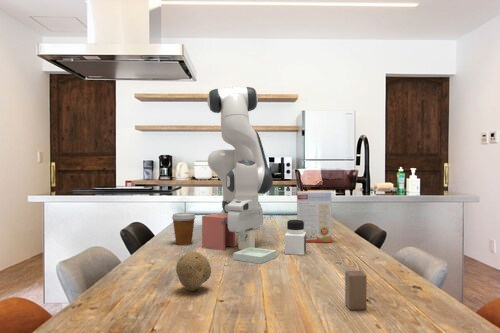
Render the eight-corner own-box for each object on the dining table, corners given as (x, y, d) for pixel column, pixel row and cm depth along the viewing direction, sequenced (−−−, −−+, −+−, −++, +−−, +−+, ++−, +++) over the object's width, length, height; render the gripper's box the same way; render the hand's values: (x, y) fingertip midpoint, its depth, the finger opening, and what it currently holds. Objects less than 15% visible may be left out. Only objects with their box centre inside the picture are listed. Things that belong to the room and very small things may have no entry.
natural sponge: (195, 282, 113) (195, 246, 113) (218, 289, 108) (218, 251, 108) (169, 290, 106) (169, 252, 106) (192, 298, 101) (192, 257, 101)
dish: (249, 253, 149) (249, 247, 149) (276, 256, 143) (276, 250, 143) (233, 259, 140) (233, 253, 140) (261, 263, 134) (261, 257, 134)
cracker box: (330, 240, 173) (330, 190, 173) (331, 243, 167) (331, 191, 167) (296, 239, 175) (297, 190, 174) (297, 242, 169) (297, 191, 168)
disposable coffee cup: (183, 246, 160) (183, 216, 160) (167, 243, 166) (166, 214, 166) (200, 243, 168) (200, 213, 167) (184, 240, 173) (184, 212, 173)
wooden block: (361, 304, 96) (361, 270, 96) (366, 310, 92) (367, 275, 92) (344, 304, 96) (344, 270, 96) (349, 310, 92) (349, 275, 92)
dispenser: (215, 243, 167) (215, 213, 166) (235, 246, 161) (235, 215, 161) (201, 247, 159) (201, 216, 159) (223, 250, 154) (223, 217, 154)
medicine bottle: (304, 255, 146) (304, 221, 146) (284, 254, 147) (284, 221, 147) (305, 250, 153) (306, 218, 153) (286, 250, 154) (286, 218, 154)
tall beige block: (243, 247, 156) (243, 228, 156) (254, 248, 154) (254, 230, 154) (238, 248, 153) (238, 230, 153) (249, 250, 151) (249, 231, 151)
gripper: (253, 200, 164) (253, 235, 164) (224, 205, 146) (224, 244, 146) (267, 201, 161) (267, 236, 161) (239, 206, 143) (239, 246, 143)
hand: (246, 240), depth 154 cm, fingers closed on tall beige block, 3 cm apart
